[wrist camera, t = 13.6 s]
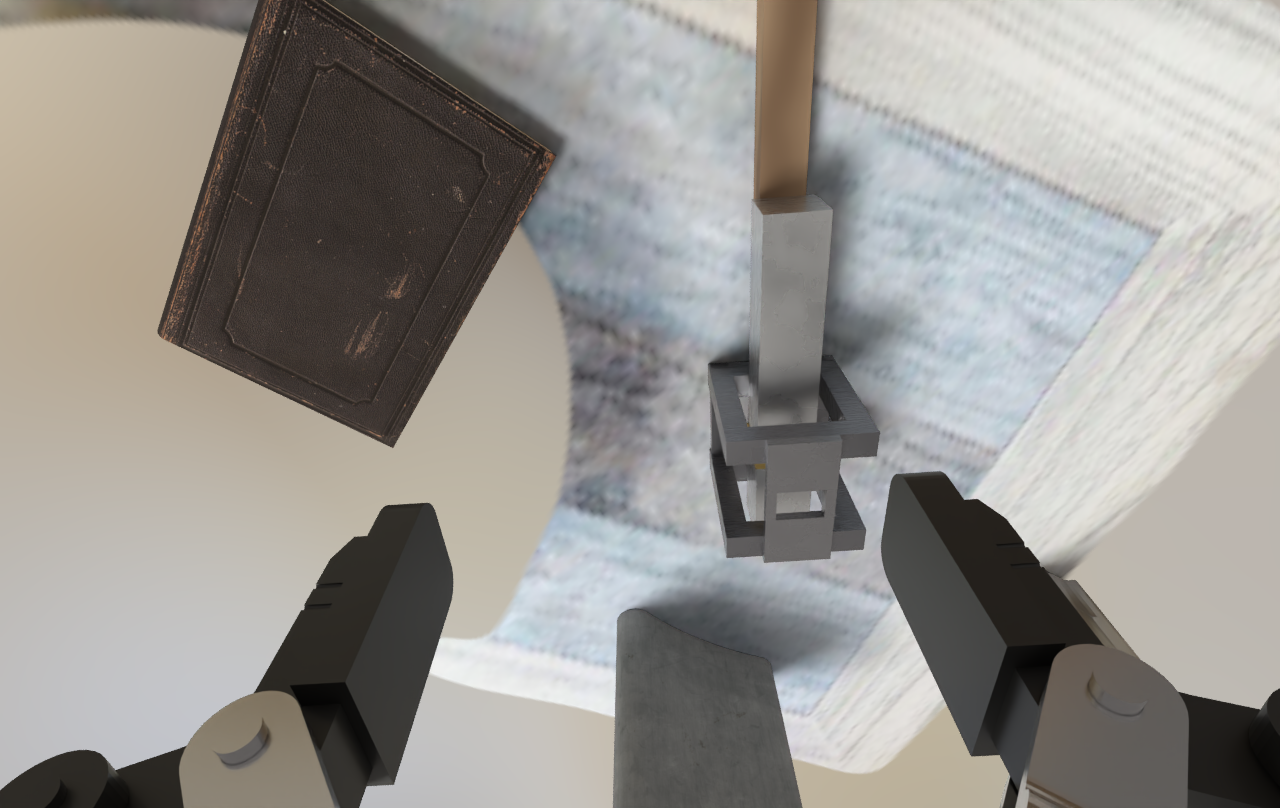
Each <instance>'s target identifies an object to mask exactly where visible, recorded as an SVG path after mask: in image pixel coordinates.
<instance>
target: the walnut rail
mask: <svg viewBox="0 0 1280 808" xmlns="http://www.w3.org/2000/svg"><path fill="white" fill-rule="evenodd" d="M816 15H817V0H757V44H756V99H755V154H754V199H763V198H776V197H789V196H802V195H806V187H807V170H808V153H809V135H810V118H811V101H812V84H813V67H814V49H815V32H816Z"/></svg>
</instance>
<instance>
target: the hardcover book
mask: <svg viewBox="0 0 1280 808" xmlns="http://www.w3.org/2000/svg"><path fill="white" fill-rule="evenodd" d="M555 157H556V155H555V154H553V153H552V152H551V151H550V150H549V149H547V148H546V147H544V146H543V145H541V144H540V143H538V142H537V141H535V140H534V139H532V138H531V137H529V136H528V135H526V134H525V133H523V132H522V131H520V130H519V129H517V128H516V127H514V126H513V125H511V124H510V123H508V122H507V121H505V120H504V119H502V118H501V117H499V116H498V115H496V114H495V113H493V112H492V111H490V110H489V109H487V108H486V107H484V106H483V105H481V104H480V103H478V102H477V101H475V100H474V99H472V98H471V97H469V96H468V95H466V94H465V93H463V92H462V91H460V90H459V89H457V88H456V87H454V86H453V85H451V84H450V83H448V82H447V81H445V80H444V79H442V78H441V77H439V76H438V75H436V74H435V73H433V72H432V71H430V70H429V69H427V68H426V67H424V66H423V65H421V64H420V63H418V62H417V61H415V60H414V59H412V58H411V57H409V56H408V55H406V54H405V53H403V52H402V51H400V50H399V49H397V48H396V47H394V46H393V45H391V44H390V43H388V42H387V41H385V40H384V39H382V38H380V37H379V36H377V35H376V34H374V33H373V32H371V31H370V30H368V29H367V28H365V27H364V26H362V25H361V24H359V23H358V22H356V21H355V20H353V19H352V18H350V17H349V16H347V15H346V14H344V13H343V12H341V11H340V10H338V9H337V8H335V7H334V6H332V5H331V4H329V3H328V2H326V1H325V0H258V4H257V7H256V10H255V13H254V17H253V20H252V23H251V27H250V30H249V33H248V36H247V40H246V43H245V46H244V49H243V53H242V56H241V59H240V62H239V66H238V69H237V72H236V76H235V79H234V82H233V85H232V89H231V92H230V95H229V99H228V102H227V105H226V108H225V112H224V115H223V118H222V121H221V125H220V128H219V131H218V134H217V138H216V141H215V144H214V147H213V151H212V154H211V158H210V161H209V164H208V167H207V170H206V174H205V177H204V181H203V183H202V187H201V190H200V193H199V197H198V200H197V203H196V206H195V210H194V213H193V216H192V220H191V223H190V226H189V229H188V232H187V236H186V239H185V242H184V246H183V249H182V252H181V256H180V259H179V262H178V265H177V269H176V272H175V275H174V279H173V282H172V285H171V288H170V291H169V295H168V298H167V301H166V305H165V308H164V311H163V314H162V318H161V321H160V324H159V327H158V334H159V336H160V337H161V338H163V339H164V340H167V341H169V342H171V343H173V344H175V345H177V346H179V347H181V348H184V349H186V350H188V351H190V352H192V353H194V354H196V355H198V356H200V357H203V358H204V359H206V360H209V361H211V362H213V363H215V364H217V365H219V366H221V367H223V368H225V369H228V370H230V371H232V372H234V373H236V374H238V375H240V376H242V377H244V378H247V379H249V380H251V381H253V382H255V383H257V384H259V385H261V386H263V387H265V388H268V389H270V390H272V391H274V392H276V393H278V394H280V395H282V396H285V397H287V398H289V399H291V400H293V401H295V402H297V403H299V404H301V405H304V406H306V407H308V408H310V409H312V410H314V411H316V412H318V413H320V414H322V415H324V416H327V417H329V418H331V419H333V420H335V421H337V422H339V423H341V424H344V425H346V426H348V427H350V428H352V429H354V430H356V431H358V432H360V433H363V434H365V435H367V436H369V437H371V438H373V439H375V440H377V441H380V442H382V443H384V444H386V445H388V446H390V447H392V448H393V447H394V445H395V443H396V441H397V440H398V438H399V436H400V435H401V432H402V431H403V429H404V427H405V426H406V424H407V422H408V420H409V419H410V417H411V415H412V413H413V412H414V410H415V408H416V406H417V404H418V403H419V401H420V399H421V397H422V395H423V394H424V392H425V390H426V388H427V386H428V385H429V383H430V381H431V379H432V377H433V375H434V374H435V372H436V370H437V368H438V367H439V365H440V363H441V361H442V360H443V358H444V356H445V354H446V352H447V351H448V349H449V347H450V345H451V343H452V342H453V340H454V338H455V336H456V335H457V333H458V331H459V329H460V327H461V326H462V324H463V322H464V320H465V318H466V317H467V315H468V313H469V311H470V309H471V308H472V306H473V304H474V302H475V300H476V299H477V297H478V295H479V293H480V292H481V290H482V288H483V286H484V284H485V283H486V281H487V279H488V277H489V275H490V274H491V271H492V270H493V268H494V266H495V265H496V263H497V261H498V259H499V257H500V255H501V254H502V252H503V250H504V248H505V247H506V245H507V243H508V241H509V239H510V237H511V236H512V234H513V232H514V231H515V229H516V227H517V225H518V223H519V221H520V220H521V218H522V216H523V214H524V212H525V211H526V209H527V207H528V205H529V203H530V202H531V200H532V198H533V196H534V194H535V193H536V191H537V189H538V187H539V185H540V184H541V182H542V180H543V178H544V177H545V175H546V173H547V171H548V169H549V168H550V166H551V164H552V162H553V160H554V159H555Z"/></svg>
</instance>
